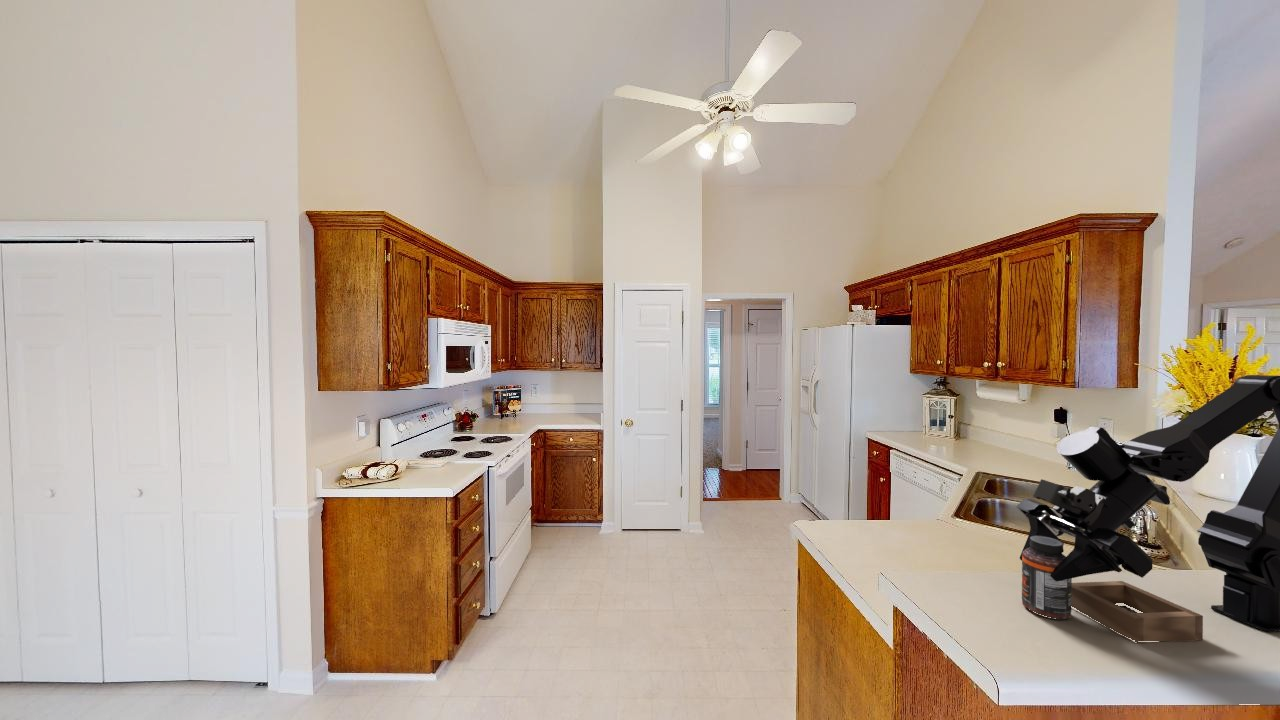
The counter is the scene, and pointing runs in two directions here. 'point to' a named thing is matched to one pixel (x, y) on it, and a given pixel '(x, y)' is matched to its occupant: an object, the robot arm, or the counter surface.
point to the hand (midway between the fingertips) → (1037, 569)
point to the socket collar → (1151, 625)
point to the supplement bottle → (1045, 579)
